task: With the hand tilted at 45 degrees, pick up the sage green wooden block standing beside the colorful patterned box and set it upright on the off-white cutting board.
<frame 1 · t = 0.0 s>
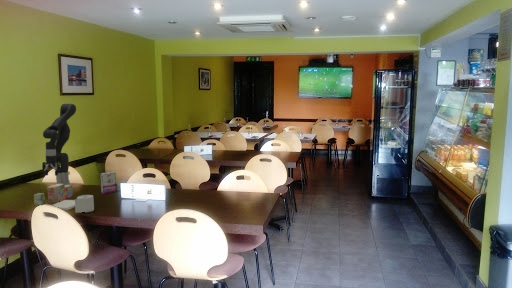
hand: (51, 175, 333), 17 cm above the table, tool pointing down, fingers open, 8 cm apart
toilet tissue: (85, 211, 294), on the table
candy bar box: (108, 192, 348), on the table
sage block: (39, 204, 312), on the table
colorful patterned box: (60, 199, 326), on the table
cutting board: (66, 205, 307), on the table
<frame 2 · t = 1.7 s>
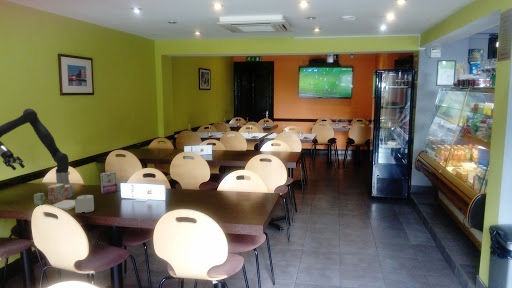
hand: (19, 168, 311), 27 cm above the table, tool tilted 45°, fingers open, 8 cm apart
nothing on the table moved.
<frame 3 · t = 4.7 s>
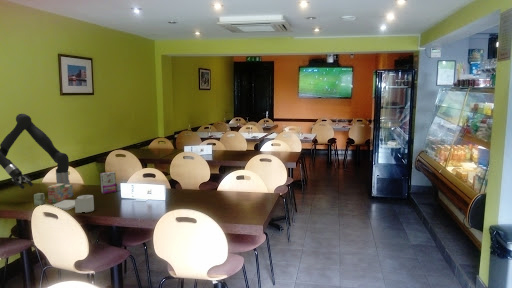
hand: (28, 186, 312), 13 cm above the table, tool tilted 45°, fingers open, 8 cm apart
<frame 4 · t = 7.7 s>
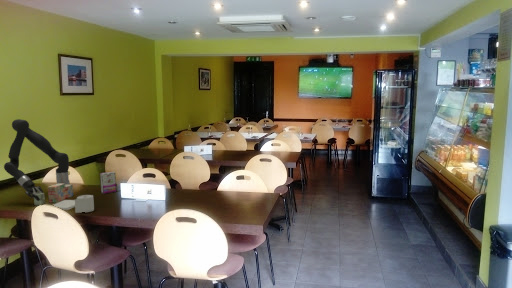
hand: (41, 199, 311), 4 cm above the table, tool tilted 45°, fingers closed on sage block, 5 cm apart
sage block: (39, 204, 312), on the table, touching gripper
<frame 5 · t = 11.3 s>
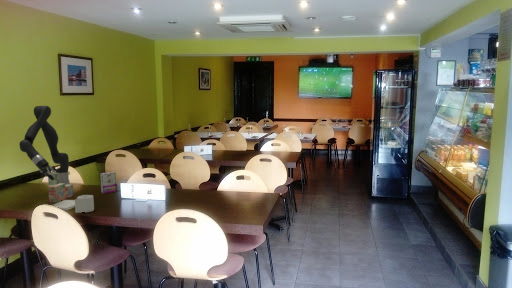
hand: (55, 178, 306), 20 cm above the table, tool tilted 45°, fingers closed on sage block, 5 cm apart
sage block: (53, 184, 307), point 16 cm above the table, touching gripper
when the fingers open (7 cm above the table, at t = 15.0 s): sage block drops 1 cm, resting on cutting board.
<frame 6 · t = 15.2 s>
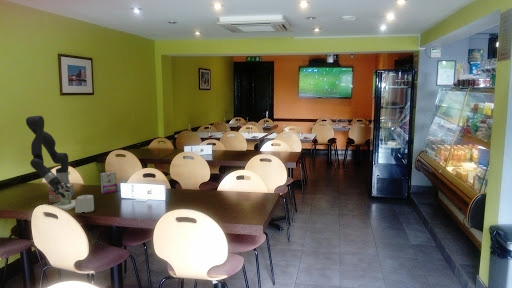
hand: (67, 195, 306), 7 cm above the table, tool tilted 45°, fingers open, 6 cm apart
sage block: (66, 203, 307), point 1 cm above the table, touching cutting board
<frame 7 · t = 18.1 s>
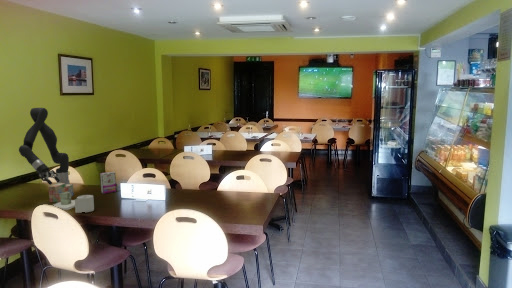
hand: (55, 182, 307), 17 cm above the table, tool tilted 45°, fingers open, 8 cm apart
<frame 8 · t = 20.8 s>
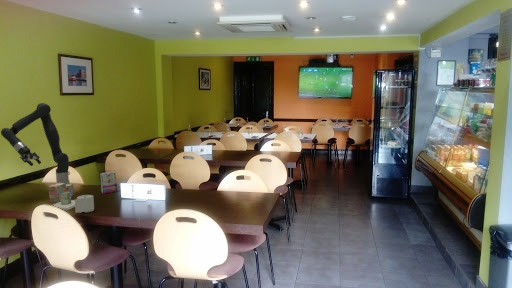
hand: (36, 164, 317), 29 cm above the table, tool tilted 45°, fingers open, 8 cm apart
at the end: sage block inside the target area on the cutting board (0.1 cm from its centre), point 1.5 cm above the cutting board's base; sage block tilted 0°; the gripper is holding nothing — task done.
